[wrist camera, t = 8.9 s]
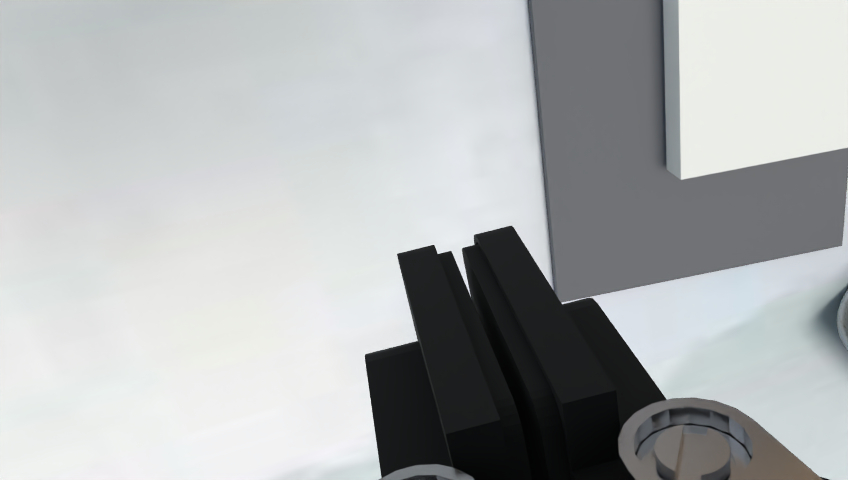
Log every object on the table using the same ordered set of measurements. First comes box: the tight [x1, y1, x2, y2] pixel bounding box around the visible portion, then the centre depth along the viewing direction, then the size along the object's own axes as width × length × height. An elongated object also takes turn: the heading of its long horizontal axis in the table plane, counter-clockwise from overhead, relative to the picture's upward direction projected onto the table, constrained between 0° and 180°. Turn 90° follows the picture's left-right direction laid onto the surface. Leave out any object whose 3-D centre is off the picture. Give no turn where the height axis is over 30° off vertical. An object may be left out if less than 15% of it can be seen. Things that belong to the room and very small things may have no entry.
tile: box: [663, 0, 848, 180], centre depth 36 cm, size 9×2×9 cm
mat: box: [528, 0, 848, 302], centre depth 38 cm, size 16×16×1 cm
